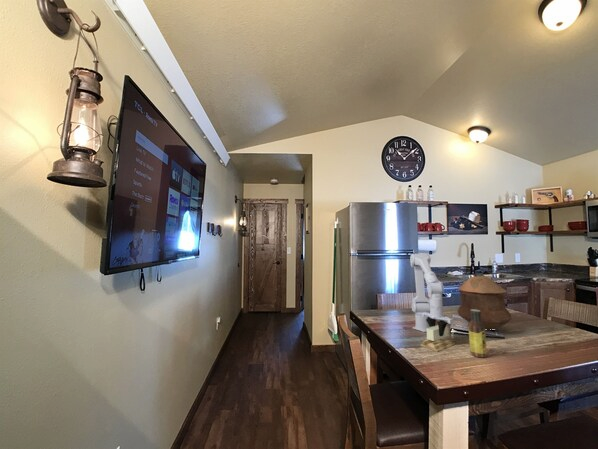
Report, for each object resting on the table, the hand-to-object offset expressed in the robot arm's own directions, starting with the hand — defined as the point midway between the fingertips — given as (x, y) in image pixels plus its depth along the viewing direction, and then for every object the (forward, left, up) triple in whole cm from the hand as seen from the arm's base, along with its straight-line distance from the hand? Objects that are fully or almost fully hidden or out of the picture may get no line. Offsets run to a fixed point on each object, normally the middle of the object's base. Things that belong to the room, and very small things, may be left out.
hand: (437, 334), depth 128 cm
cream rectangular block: (0, 0, -1) cm, 1 cm away
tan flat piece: (0, 0, -5) cm, 5 cm away
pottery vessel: (-45, +1, -5) cm, 45 cm away
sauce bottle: (-5, +16, -5) cm, 17 cm away
